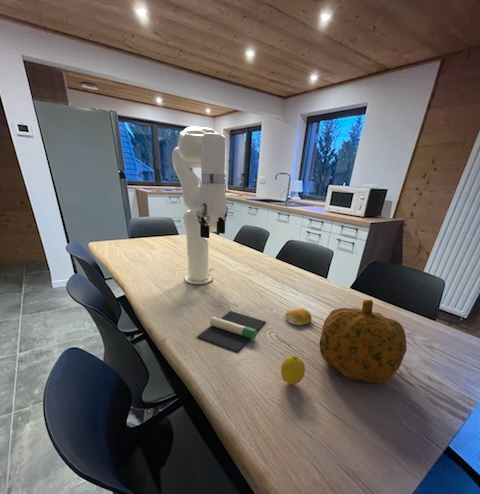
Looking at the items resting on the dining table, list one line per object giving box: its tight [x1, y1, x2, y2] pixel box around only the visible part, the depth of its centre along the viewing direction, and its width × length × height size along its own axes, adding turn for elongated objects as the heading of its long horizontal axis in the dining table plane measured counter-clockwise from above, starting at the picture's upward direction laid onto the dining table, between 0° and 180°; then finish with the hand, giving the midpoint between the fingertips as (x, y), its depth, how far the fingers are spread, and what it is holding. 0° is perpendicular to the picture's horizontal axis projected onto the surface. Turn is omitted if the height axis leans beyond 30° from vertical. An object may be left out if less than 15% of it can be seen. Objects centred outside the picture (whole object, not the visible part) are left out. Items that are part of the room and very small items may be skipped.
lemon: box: [280, 355, 306, 385], centre depth 63 cm, size 6×6×8 cm
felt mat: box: [197, 310, 266, 353], centre depth 85 cm, size 20×14×1 cm
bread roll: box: [284, 308, 312, 326], centre depth 93 cm, size 8×9×4 cm
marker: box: [209, 316, 258, 341], centre depth 83 cm, size 15×3×3 cm
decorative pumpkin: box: [318, 299, 408, 384], centre depth 67 cm, size 20×21×20 cm
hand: (213, 235), depth 90 cm, fingers open, 9 cm apart
